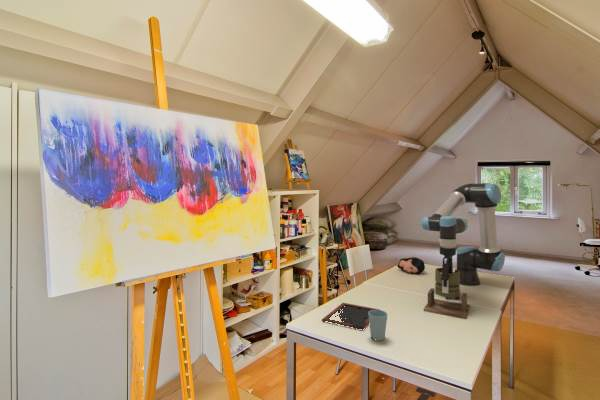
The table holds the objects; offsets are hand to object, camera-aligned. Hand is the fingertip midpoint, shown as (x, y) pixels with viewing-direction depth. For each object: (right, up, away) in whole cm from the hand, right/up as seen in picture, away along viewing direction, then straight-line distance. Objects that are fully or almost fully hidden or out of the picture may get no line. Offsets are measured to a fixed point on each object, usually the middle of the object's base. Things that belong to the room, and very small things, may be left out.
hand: (447, 289), depth 166 cm
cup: (-43, -12, -30) cm, 54 cm away
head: (+5, -7, +70) cm, 71 cm away
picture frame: (-50, -12, -8) cm, 52 cm away
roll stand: (0, -10, 0) cm, 10 cm away
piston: (0, -2, 0) cm, 2 cm away
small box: (+10, -9, +20) cm, 24 cm away
